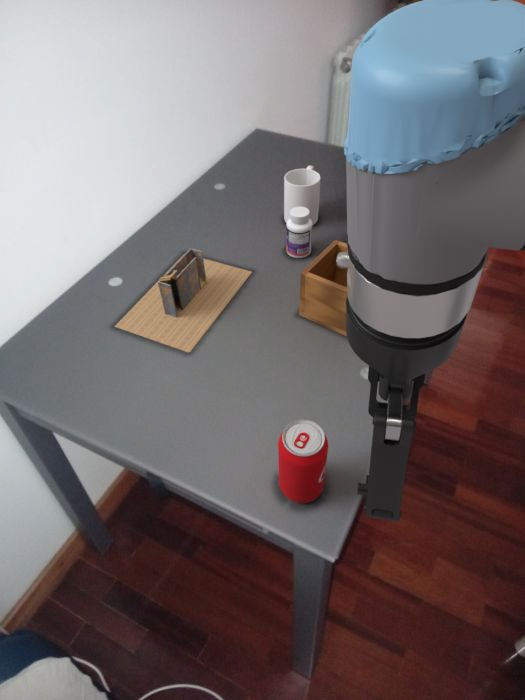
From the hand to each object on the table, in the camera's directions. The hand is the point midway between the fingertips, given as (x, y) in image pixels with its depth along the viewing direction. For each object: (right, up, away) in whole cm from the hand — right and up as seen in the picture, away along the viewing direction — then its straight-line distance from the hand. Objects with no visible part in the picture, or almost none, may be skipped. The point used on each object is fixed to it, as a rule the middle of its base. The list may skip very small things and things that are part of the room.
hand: (384, 438), depth 48 cm
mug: (-2, +41, +68) cm, 79 cm away
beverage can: (-7, -10, +20) cm, 24 cm away
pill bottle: (-4, +30, +58) cm, 65 cm away
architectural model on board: (-27, +19, +49) cm, 59 cm away
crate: (+4, +16, +44) cm, 47 cm away
